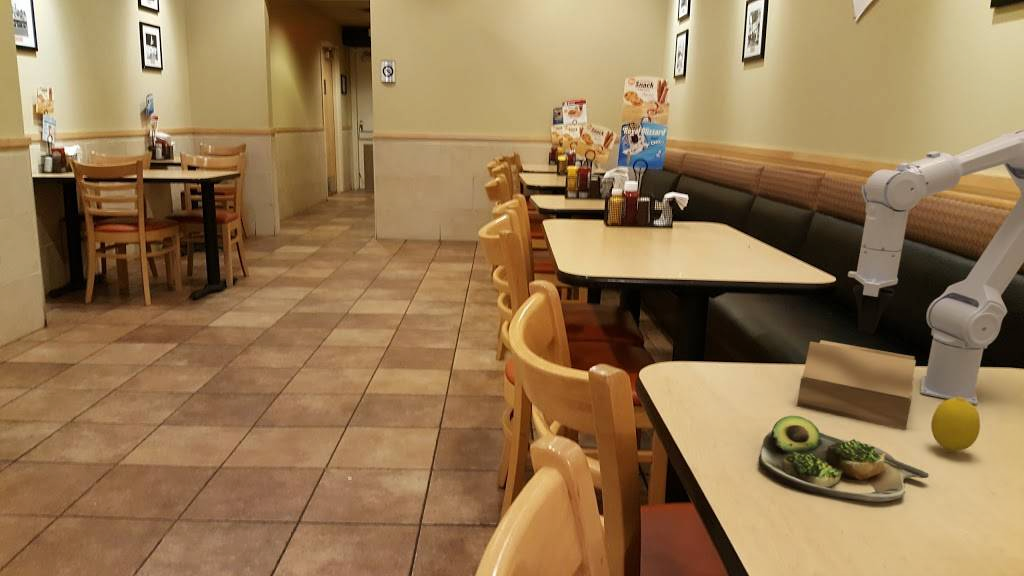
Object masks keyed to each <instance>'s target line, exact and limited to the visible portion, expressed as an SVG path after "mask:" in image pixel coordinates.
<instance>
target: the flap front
mask: <svg viewBox="0 0 1024 576" xmlns="http://www.w3.org/2000/svg"><path fill="white" fill-rule="evenodd" d="M916 362H917V361H916V359H914V360H910V359H905V358H899V357H894V356H888V355H883V354H877V353H872V352H866V351H860V350H855V349H849V348H844V347H838V346H833V345H827V344H821V343H820V342H815V341H810V342H809V346H808V351H807V356H806V360H805V365H804V370H803V374H802V376H803V377H805V378H810V379H815V380H820V381H825V382H829V383H834V384H839V385H844V386H849V387H854V388H859V389H864V390H869V391H874V392H879V393H884V394H889V395H894V396H899V397H904V398H909V397H910V392H911V386H912V380H913V377H914V374H915V368H916ZM913 381H914V380H913Z"/></svg>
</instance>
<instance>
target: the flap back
mask: <svg viewBox="0 0 1024 576" xmlns="http://www.w3.org/2000/svg"><path fill="white" fill-rule="evenodd" d="M819 343H821V344H827V345H833V346H838V347H844V348H849V349H855V350H860V351H866V352H872V353H877V354H883V355H888V356H894V357H899V358H905V359H910V360H915V358H916V357H915V356H913V355H908V354H907V355H906V354H902V353H901V354H900V353H895V352H889V351H886V350H885V351H884V350H881V349H880V350H879V349H874V348H868V347H861V346H858V345H857V346H856V345H851V344H845V343H841V342H840V343H839V342H835V341H828V340H823V339H821V340H820V341H819Z"/></svg>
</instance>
